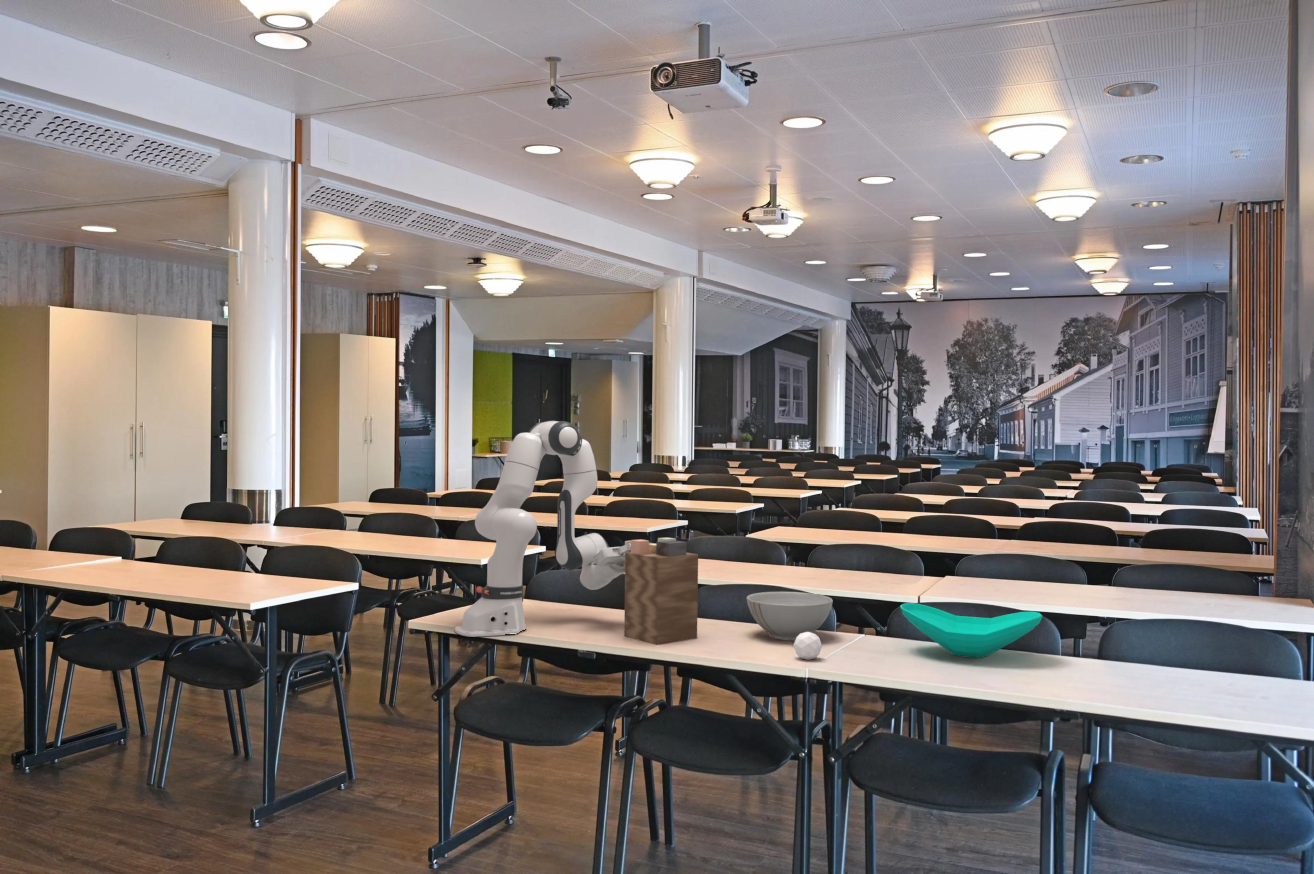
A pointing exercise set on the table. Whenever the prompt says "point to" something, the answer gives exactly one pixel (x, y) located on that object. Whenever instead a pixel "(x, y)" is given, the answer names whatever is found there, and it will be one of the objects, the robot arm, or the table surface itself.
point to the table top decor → (970, 629)
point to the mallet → (667, 548)
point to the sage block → (666, 539)
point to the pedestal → (661, 597)
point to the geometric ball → (807, 645)
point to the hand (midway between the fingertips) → (637, 544)
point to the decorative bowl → (789, 612)
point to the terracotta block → (640, 546)
